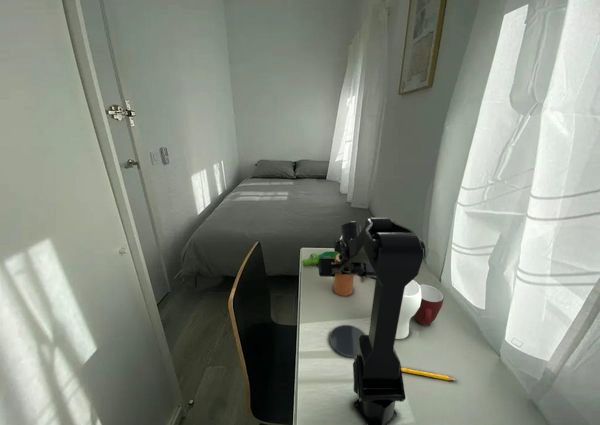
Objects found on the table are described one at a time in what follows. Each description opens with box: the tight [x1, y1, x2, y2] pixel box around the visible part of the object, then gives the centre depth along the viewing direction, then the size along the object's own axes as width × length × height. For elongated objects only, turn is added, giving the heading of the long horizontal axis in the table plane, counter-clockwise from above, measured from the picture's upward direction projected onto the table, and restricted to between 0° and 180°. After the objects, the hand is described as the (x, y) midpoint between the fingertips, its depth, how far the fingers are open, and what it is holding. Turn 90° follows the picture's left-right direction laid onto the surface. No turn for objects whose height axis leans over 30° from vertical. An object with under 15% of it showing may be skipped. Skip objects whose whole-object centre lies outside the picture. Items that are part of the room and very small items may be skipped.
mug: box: [413, 283, 445, 327], centre depth 73 cm, size 11×8×10 cm
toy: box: [301, 250, 339, 268], centre depth 107 cm, size 9×18×5 cm, turn 134°
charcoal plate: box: [329, 324, 366, 358], centre depth 68 cm, size 10×10×1 cm
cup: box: [395, 279, 421, 340], centre depth 70 cm, size 11×11×15 cm
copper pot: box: [333, 254, 355, 297], centre depth 89 cm, size 10×7×13 cm
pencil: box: [401, 367, 456, 381], centre depth 59 cm, size 1×13×1 cm
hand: (343, 271), depth 89 cm, fingers closed on copper pot, 6 cm apart
